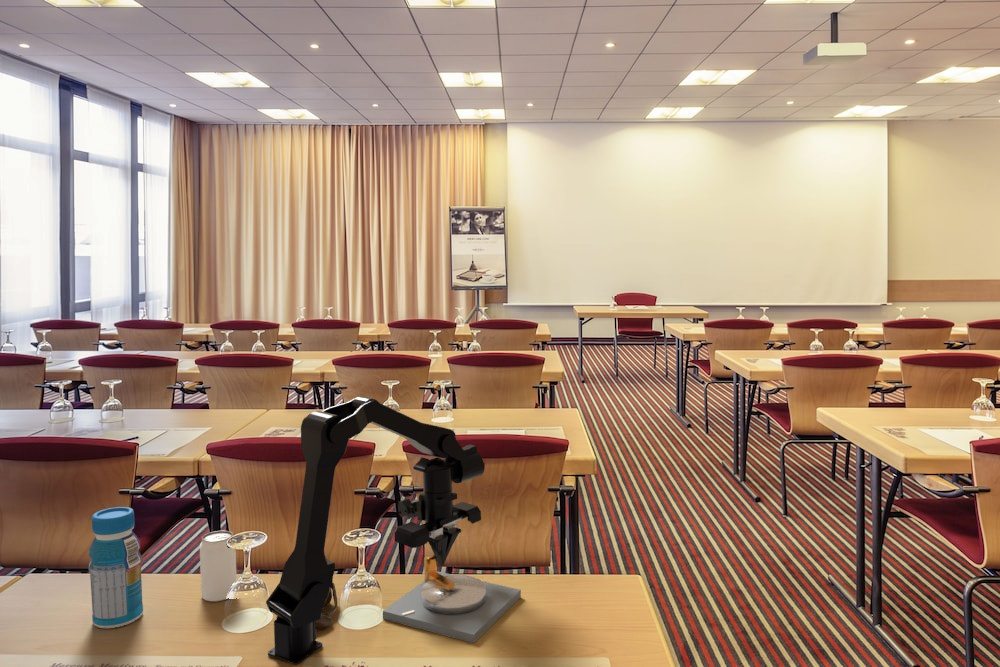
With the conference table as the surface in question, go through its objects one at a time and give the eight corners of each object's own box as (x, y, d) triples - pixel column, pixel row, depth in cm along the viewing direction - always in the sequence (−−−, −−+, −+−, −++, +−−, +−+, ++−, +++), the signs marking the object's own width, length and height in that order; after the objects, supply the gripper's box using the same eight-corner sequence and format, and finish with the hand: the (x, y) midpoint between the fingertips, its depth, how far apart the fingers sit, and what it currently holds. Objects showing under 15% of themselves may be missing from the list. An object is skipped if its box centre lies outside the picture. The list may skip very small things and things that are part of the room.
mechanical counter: (352, 571, 135) (302, 560, 135) (336, 595, 122) (281, 583, 122) (344, 608, 135) (293, 596, 135) (327, 635, 122) (271, 623, 122)
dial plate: (473, 643, 119) (473, 633, 119) (382, 618, 127) (382, 609, 127) (520, 597, 136) (520, 588, 136) (437, 578, 144) (437, 570, 144)
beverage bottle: (96, 635, 122) (90, 524, 120) (87, 617, 128) (82, 511, 126) (149, 620, 127) (144, 513, 125) (138, 603, 133) (133, 501, 132)
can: (201, 591, 138) (198, 532, 137) (235, 585, 141) (233, 527, 140) (202, 605, 133) (199, 544, 132) (238, 598, 135) (236, 538, 134)
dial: (498, 599, 131) (498, 570, 130) (447, 620, 123) (447, 590, 122) (451, 574, 142) (451, 547, 141) (401, 592, 134) (401, 564, 133)
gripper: (443, 470, 149) (446, 540, 151) (374, 493, 135) (378, 570, 137) (481, 480, 142) (483, 553, 143) (412, 505, 128) (415, 586, 130)
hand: (440, 565), depth 139 cm, fingers closed
